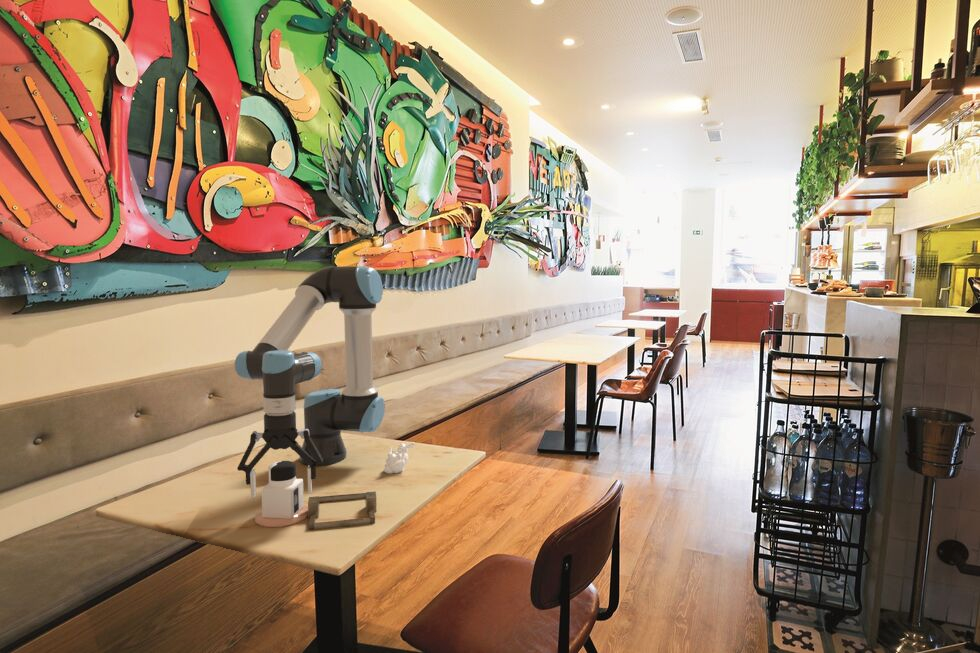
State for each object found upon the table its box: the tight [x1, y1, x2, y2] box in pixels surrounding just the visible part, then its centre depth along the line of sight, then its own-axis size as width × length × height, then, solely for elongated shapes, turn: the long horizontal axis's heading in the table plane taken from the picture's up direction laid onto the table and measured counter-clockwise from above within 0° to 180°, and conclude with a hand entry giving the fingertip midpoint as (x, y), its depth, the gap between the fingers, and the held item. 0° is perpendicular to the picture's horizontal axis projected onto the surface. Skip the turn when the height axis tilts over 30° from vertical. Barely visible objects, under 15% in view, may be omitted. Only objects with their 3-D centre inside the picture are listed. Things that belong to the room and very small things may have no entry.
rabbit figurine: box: [383, 441, 415, 475], centre depth 175 cm, size 12×8×10 cm, turn 146°
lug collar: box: [307, 491, 377, 531], centre depth 145 cm, size 17×17×4 cm
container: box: [261, 460, 305, 519], centre depth 142 cm, size 8×8×13 cm
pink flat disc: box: [254, 504, 308, 528], centre depth 142 cm, size 13×13×1 cm
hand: (282, 493), depth 142 cm, fingers open, 13 cm apart
